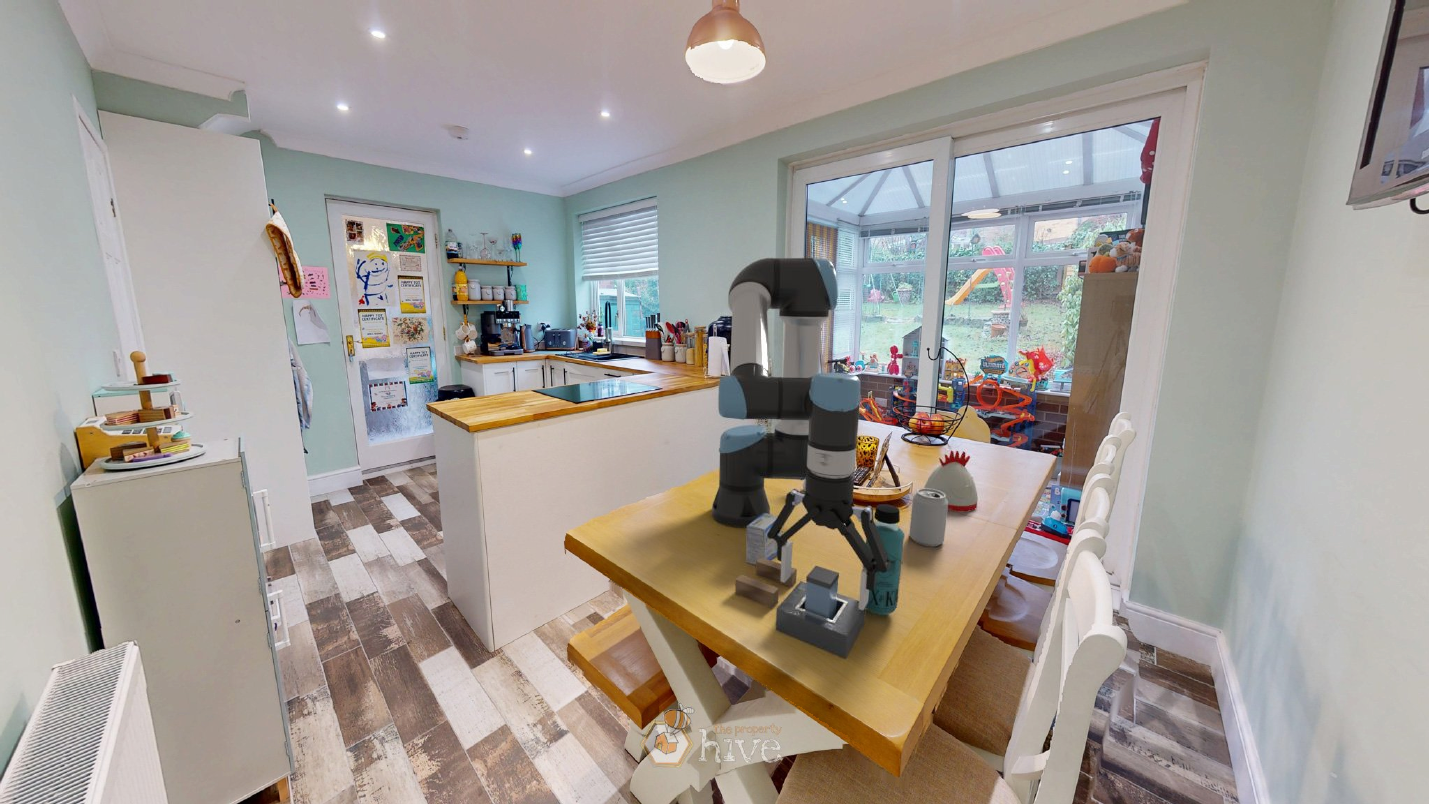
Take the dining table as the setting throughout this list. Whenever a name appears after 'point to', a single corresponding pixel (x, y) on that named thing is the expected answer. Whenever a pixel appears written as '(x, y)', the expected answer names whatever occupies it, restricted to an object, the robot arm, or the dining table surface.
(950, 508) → the red crested white hat
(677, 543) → the dining table surface
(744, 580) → the pair of wooden blocks
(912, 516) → the can
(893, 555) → the beverage bottle
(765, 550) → the medicine box
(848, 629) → the port
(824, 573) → the plug
